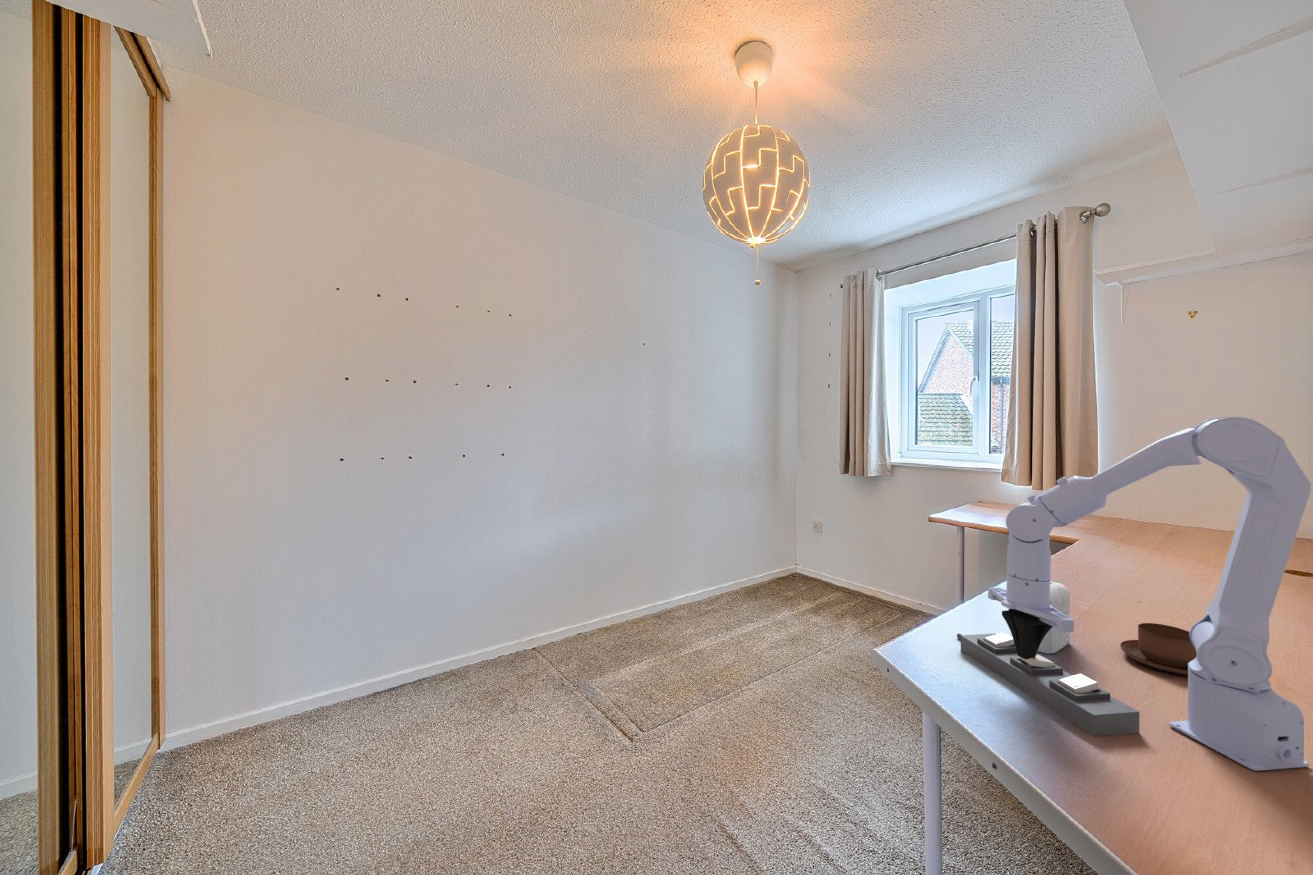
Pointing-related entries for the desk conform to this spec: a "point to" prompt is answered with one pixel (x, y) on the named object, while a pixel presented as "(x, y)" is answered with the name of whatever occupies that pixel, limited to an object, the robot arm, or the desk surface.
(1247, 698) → the robot arm
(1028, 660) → the middle rocker
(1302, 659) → the desk surface
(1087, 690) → the rocker
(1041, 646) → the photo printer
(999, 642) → the rocker
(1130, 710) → the rocker switch panel
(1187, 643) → the cup and saucer
